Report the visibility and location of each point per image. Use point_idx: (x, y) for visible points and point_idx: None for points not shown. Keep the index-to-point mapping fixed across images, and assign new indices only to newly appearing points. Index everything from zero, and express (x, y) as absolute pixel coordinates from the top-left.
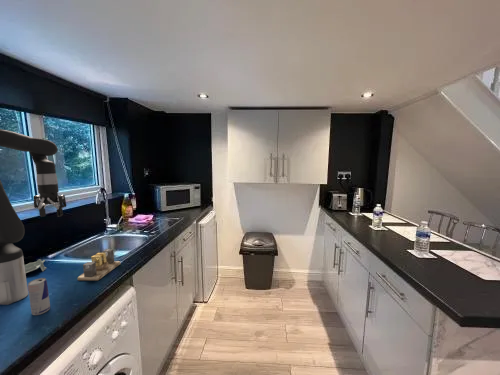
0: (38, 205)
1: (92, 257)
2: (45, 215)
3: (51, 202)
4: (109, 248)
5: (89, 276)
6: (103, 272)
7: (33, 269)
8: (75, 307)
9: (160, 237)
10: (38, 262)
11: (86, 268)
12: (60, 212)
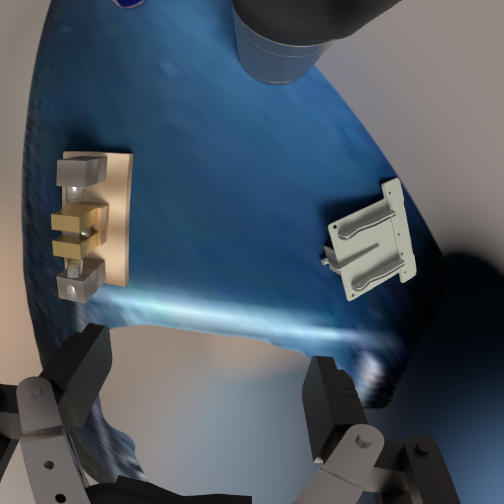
0: (395, 482)
1: (77, 216)
2: (303, 392)
3: (61, 484)
4: (67, 299)
5: (89, 156)
6: (65, 188)
7: (341, 223)
8: (61, 19)
9: (92, 439)
10: (360, 282)
11: (81, 159)
12: (56, 356)
